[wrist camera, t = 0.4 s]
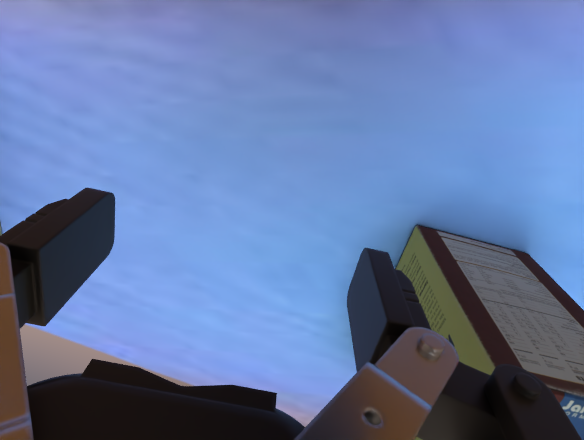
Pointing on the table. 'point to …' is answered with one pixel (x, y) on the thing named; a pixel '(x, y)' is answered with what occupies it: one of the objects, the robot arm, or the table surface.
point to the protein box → (499, 311)
